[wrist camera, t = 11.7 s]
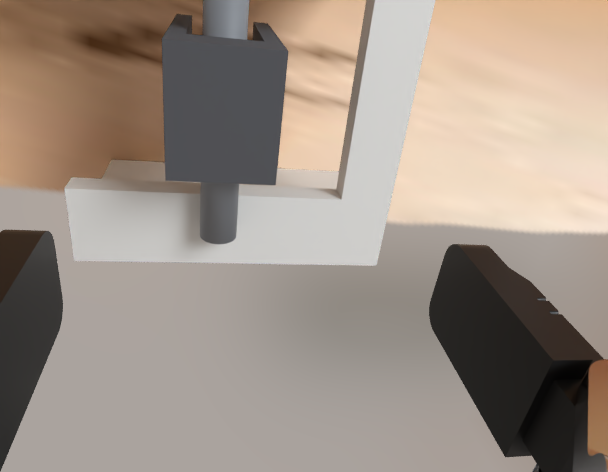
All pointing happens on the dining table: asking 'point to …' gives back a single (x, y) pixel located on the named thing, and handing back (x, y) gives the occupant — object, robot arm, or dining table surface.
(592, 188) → the dining table surface
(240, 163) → the gray u-channel post
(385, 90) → the white channel bracket
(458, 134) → the dining table surface
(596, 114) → the dining table surface
